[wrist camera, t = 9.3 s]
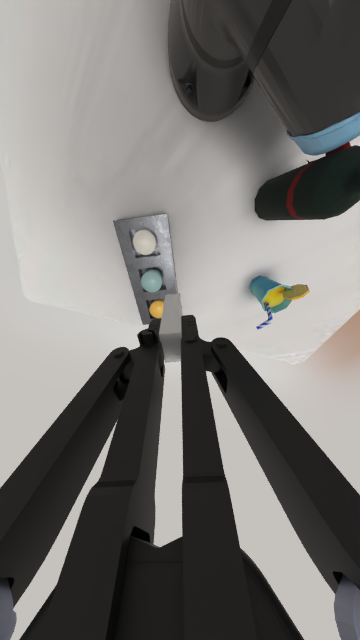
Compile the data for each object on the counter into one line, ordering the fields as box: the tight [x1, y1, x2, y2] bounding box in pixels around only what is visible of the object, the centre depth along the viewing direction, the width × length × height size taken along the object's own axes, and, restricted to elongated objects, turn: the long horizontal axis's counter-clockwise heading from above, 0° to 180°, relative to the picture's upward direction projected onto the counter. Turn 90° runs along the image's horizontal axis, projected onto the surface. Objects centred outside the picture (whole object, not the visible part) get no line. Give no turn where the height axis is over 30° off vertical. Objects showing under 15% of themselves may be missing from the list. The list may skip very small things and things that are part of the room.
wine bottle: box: [255, 142, 360, 220], centre depth 23 cm, size 8×10×30 cm
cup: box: [250, 276, 309, 330], centre depth 41 cm, size 14×8×15 cm, turn 142°
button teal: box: [141, 269, 163, 292], centre depth 41 cm, size 5×5×4 cm
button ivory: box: [133, 229, 157, 255], centre depth 38 cm, size 5×5×4 cm
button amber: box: [150, 299, 165, 318], centre depth 47 cm, size 5×5×4 cm
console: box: [113, 214, 178, 325], centre depth 43 cm, size 28×12×4 cm, turn 6°
